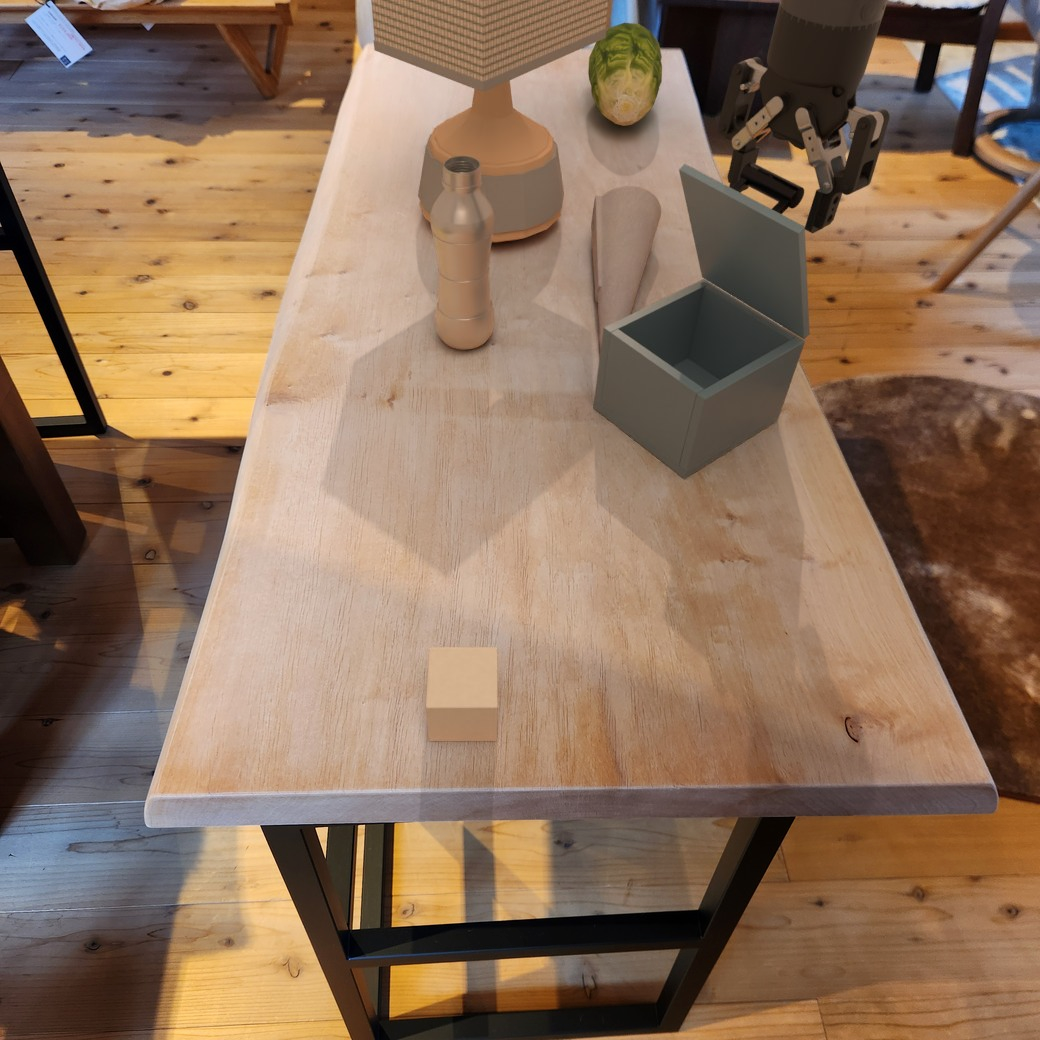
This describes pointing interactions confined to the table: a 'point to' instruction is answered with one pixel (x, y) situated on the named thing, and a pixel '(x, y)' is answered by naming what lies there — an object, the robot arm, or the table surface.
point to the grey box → (694, 375)
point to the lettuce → (625, 73)
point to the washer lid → (751, 242)
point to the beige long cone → (621, 248)
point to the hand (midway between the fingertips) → (775, 208)
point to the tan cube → (462, 694)
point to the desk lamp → (492, 93)
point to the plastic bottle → (463, 255)
